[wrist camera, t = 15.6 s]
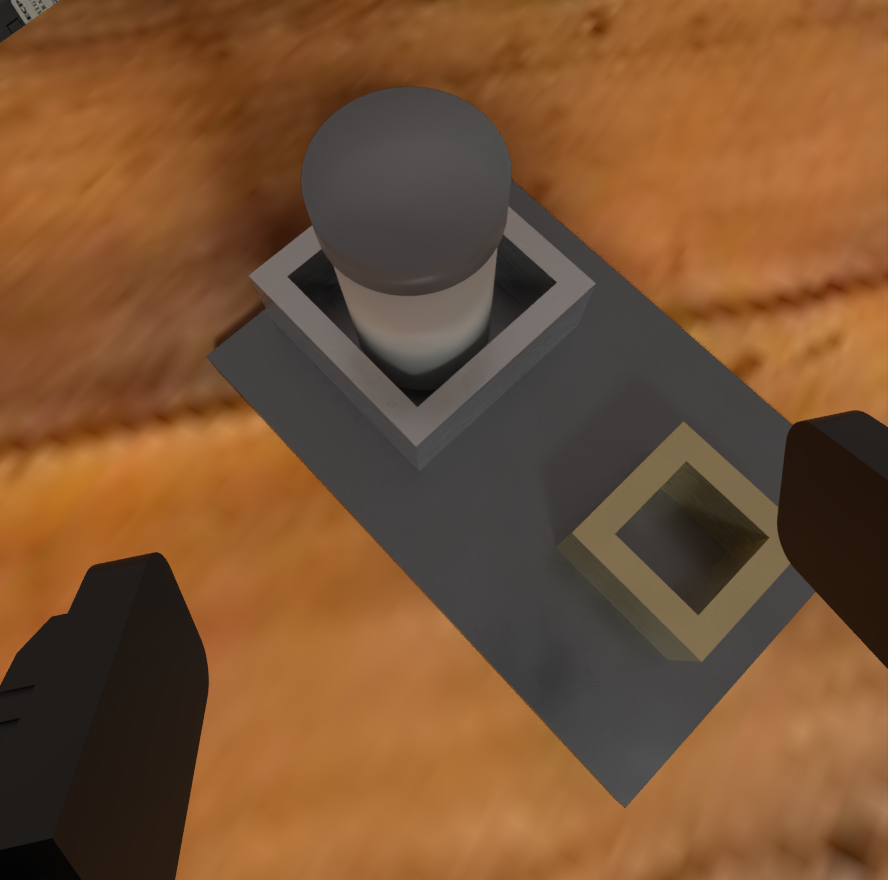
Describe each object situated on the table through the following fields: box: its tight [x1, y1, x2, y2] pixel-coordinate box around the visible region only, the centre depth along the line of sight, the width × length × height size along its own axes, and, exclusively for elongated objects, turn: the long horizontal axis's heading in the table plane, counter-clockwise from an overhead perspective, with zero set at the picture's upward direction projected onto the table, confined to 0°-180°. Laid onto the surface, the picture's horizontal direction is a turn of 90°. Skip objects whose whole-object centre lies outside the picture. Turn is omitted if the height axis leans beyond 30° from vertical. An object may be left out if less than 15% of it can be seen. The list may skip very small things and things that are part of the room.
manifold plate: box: [206, 180, 816, 808], centre depth 27 cm, size 23×15×5 cm, turn 44°
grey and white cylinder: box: [301, 87, 512, 390], centre depth 24 cm, size 6×6×10 cm
